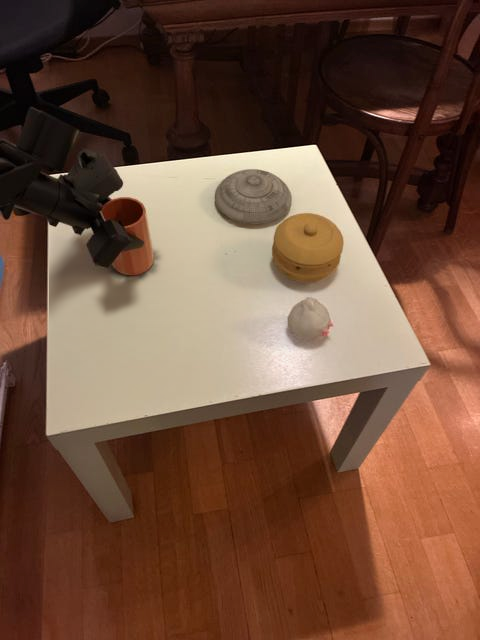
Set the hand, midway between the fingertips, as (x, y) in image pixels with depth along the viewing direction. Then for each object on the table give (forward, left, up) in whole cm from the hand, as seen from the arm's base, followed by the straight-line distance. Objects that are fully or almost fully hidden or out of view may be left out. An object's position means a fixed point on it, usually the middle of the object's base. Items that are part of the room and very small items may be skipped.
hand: (134, 230), depth 80 cm
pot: (+29, -2, -7) cm, 30 cm away
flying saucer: (+21, +15, -7) cm, 26 cm away
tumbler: (-1, -1, -7) cm, 7 cm away
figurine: (+28, -16, -7) cm, 33 cm away
